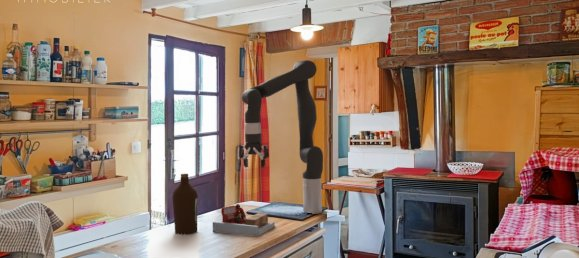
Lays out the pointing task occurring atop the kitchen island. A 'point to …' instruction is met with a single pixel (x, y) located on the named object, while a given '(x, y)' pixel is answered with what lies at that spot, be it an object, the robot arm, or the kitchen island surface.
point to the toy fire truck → (233, 214)
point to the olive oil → (185, 207)
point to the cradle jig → (241, 228)
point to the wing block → (257, 220)
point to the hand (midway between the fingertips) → (254, 167)
